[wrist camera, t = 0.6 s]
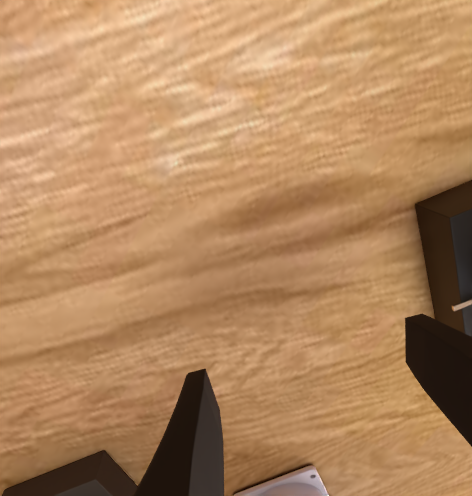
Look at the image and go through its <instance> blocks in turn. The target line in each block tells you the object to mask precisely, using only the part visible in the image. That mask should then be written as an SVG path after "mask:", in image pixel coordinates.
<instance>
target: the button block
mask: <svg viewBox="0 0 472 496" xmlns="http://www.w3.org/2000/svg"><path fill="white" fill-rule="evenodd" d="M137 488H138V487H137V486H136V485H135V483H134V482H133V481H132V480H131V479H130V478H129V477H128V476H127V475H126V474H125V473H124V472H123V471H122V469H121V468H120V467H119V466H118V465H117V464H116V463H115V462H114V461H113V460H112V459H111V458H110V457H109V455H108V454H107V453H106V452H105V451H101V452H99V453H96V454H94V455H91V456H89V457H86V458H84V459H81V460H79V461H76V462H74V463H71V464H69V465H66V466H64V467H61V468H59V469H56V470H54V471H51V472H49V473H46V474H43V475H41V476H38V477H36V478H33V479H31V480H28V481H26V482H23V483H21V484H18V485H16V486H13V487H11V488H8V489H6V490H4V492H3V494H2V496H133V495H134V493H135V491H136V489H137Z"/></svg>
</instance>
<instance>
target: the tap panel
mask: <svg viewBox="0 0 472 496" xmlns="http://www.w3.org/2000/svg"><path fill="white" fill-rule="evenodd" d="M415 206H416V212H417V217H418V223H419V229H420V234H421V240H422V245H423V251H424V257H425V262H426V268H427V273H428V279H429V284H430V290H431V296H432V301H433V307H434V312H435V318H436V320H437V321H440V322H442V323H444V324H446V325H448V326H450V327H452V328H454V329H456V330H459V331H461V332H463V333H465V334H467V335H469V336H471V337H472V181H469V182H467V183H465V184H462V185H460V186H457V187H455V188H453V189H450V190H448V191H446V192H443V193H441V194H438V195H436V196H434V197H431V198H429V199H427V200H424V201H422V202H419V203H417V204H415Z"/></svg>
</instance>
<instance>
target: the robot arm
mask: <svg viewBox="0 0 472 496" xmlns="http://www.w3.org/2000/svg"><path fill="white" fill-rule="evenodd" d="M405 333H406V363H407V365H408V366H409V368H410V370H411V371H412V373H413V374H414V376H415V377H416V379H417V380H418V382H419V383H420V385H421V386H422V388H423V389H424V390H425V392H426V393H427V394H428V395H429V396H430V398H431V399H432V400H433V401H434V402H435V404H436V405H437V406H438V407H439V408H440V410H441V411H442V412H443V413H444V414H445V416H446V417H447V418H448V419H449V420H450V421H451V423H452V424H453V425H454V426H455V427H456V429H457V430H458V431H459V432H460V433H461V434H462V436H463V437H464V438H465V439H466V440H467V442H468V443H469V444H470V445H471V446H472V337H471V336H469V335H467V334H465V333H463V332H461V331H459V330H456V329H454V328H452V327H450V326H448V325H446V324H444V323H442V322H440V321H437V320H435V319H433V318H431V317H429V316H426V315H424V314H419V315H415V316H411V317H407V318H405ZM133 496H224V456H223V434H222V425H221V417H220V409H219V406H218V404H217V401H216V398H215V395H214V392H213V389H212V386H211V383H210V380H209V377H208V375H207V372H206V369H202V370H198V371H194V372H190V373H188V374H187V376H186V378H185V382H184V385H183V387H182V390H181V393H180V396H179V399H178V401H177V404H176V407H175V409H174V412H173V414H172V417H171V419H170V421H169V424H168V426H167V429H166V431H165V433H164V436H163V438H162V440H161V442H160V444H159V446H158V448H157V450H156V453H155V455H154V457H153V459H152V461H151V463H150V465H149V467H148V469H147V471H146V473H145V475H144V477H143V479H142V480H141V482H140V484H139V486H138V488H137V489H136V491H135V493H134V495H133ZM233 496H329V494H328V492H327V490H326V488H325V486H324V484H323V482H322V480H321V478H320V476H319V474H318V472H317V470H316V468H315V467H314V466H307V467H304V468H302V469H299V470H296V471H294V472H291V473H288V474H286V475H283V476H281V477H278V478H275V479H273V480H270V481H267V482H265V483H262V484H259V485H257V486H254V487H252V488H249V489H246V490H244V491H241V492H238V493H236V494H234V495H233Z"/></svg>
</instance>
